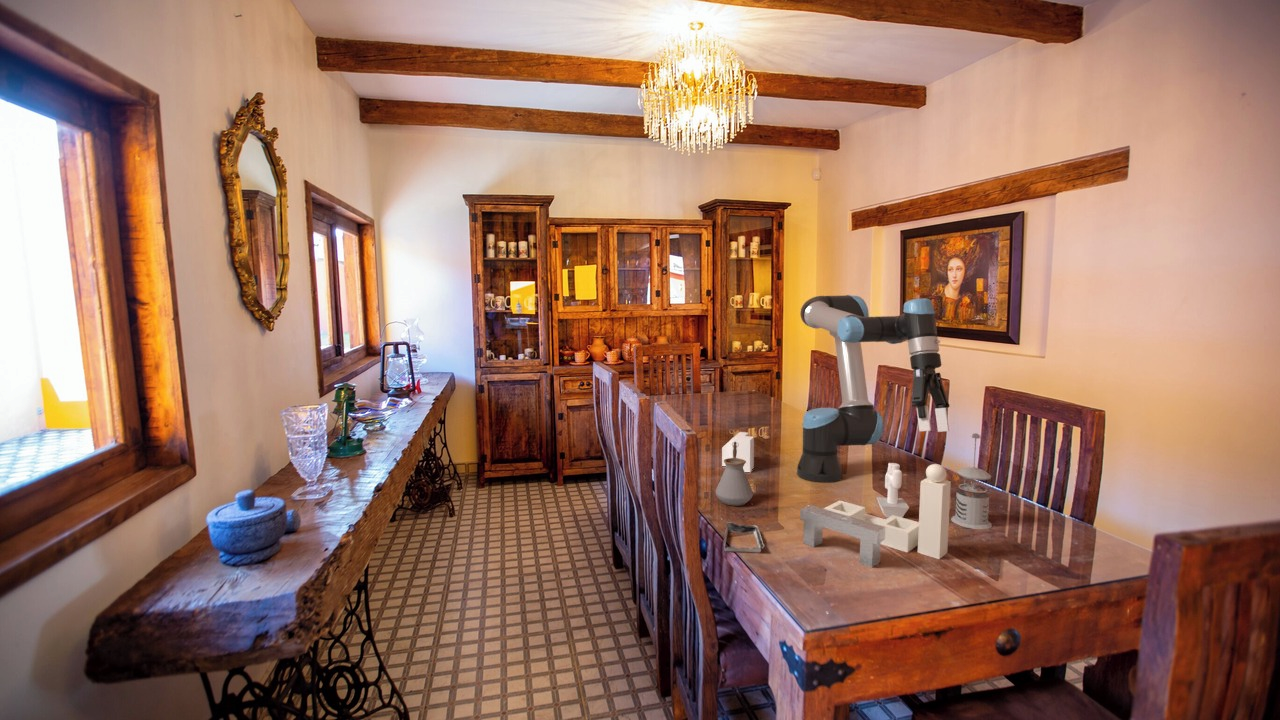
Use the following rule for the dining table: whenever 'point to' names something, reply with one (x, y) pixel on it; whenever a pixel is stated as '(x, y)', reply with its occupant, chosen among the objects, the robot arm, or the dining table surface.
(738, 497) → the grey vase
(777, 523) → the dining table surface
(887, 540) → the headboard post
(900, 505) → the figurine
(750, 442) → the corner bracket
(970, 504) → the french press
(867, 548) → the grey bench
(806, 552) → the dining table surface
